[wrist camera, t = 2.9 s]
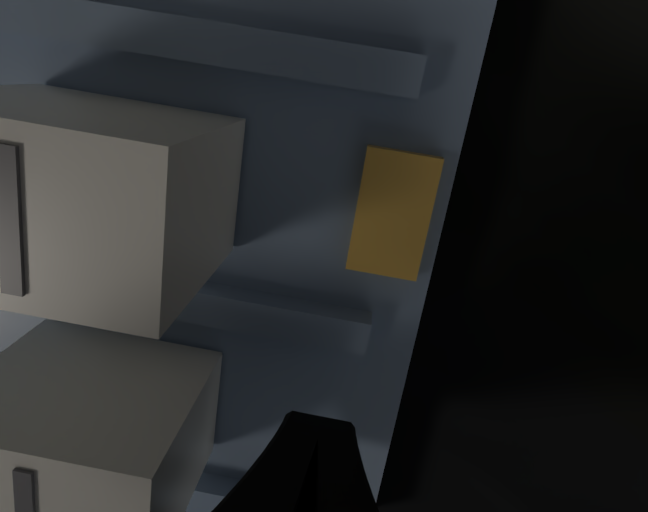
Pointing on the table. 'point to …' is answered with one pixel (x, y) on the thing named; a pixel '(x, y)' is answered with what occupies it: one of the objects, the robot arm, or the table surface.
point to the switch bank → (291, 186)
